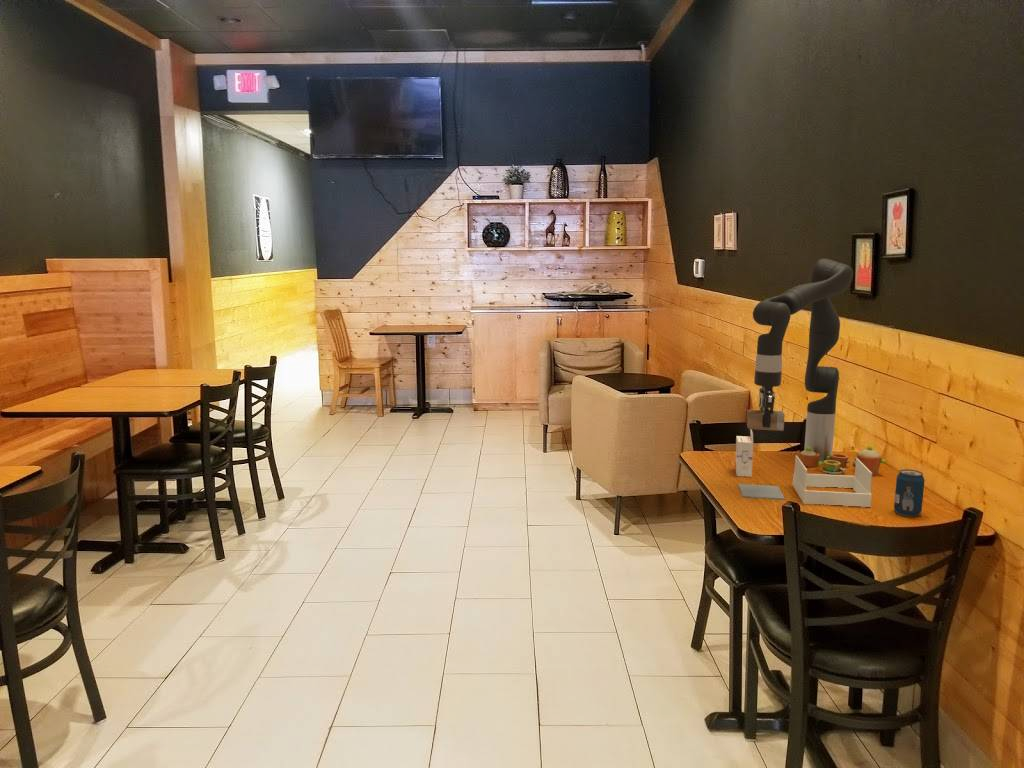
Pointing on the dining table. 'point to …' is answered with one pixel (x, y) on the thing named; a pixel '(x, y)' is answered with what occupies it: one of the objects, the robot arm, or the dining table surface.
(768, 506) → the dining table surface
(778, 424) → the box
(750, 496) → the mat
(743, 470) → the ink cartridge box
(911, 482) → the soda can
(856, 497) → the carton
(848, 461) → the toy tea set
